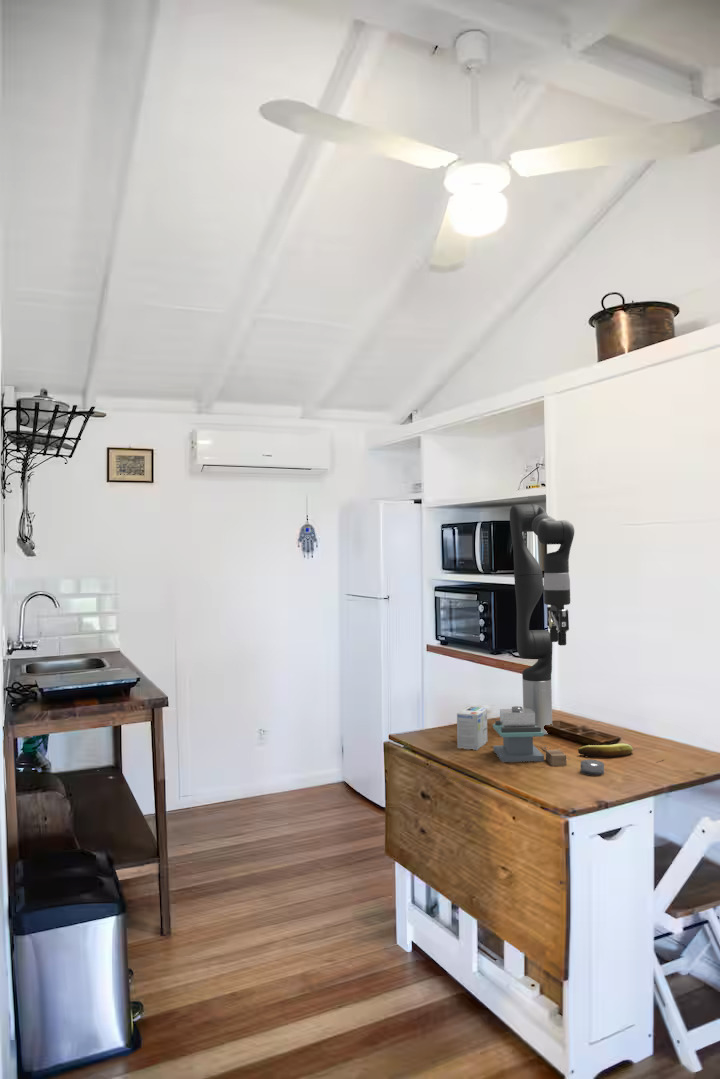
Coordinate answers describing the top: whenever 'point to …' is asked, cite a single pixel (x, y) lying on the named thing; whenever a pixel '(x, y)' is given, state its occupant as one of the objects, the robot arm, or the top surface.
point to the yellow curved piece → (603, 750)
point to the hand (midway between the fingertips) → (558, 643)
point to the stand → (518, 743)
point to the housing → (517, 717)
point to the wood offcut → (556, 757)
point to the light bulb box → (472, 728)
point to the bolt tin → (592, 767)
